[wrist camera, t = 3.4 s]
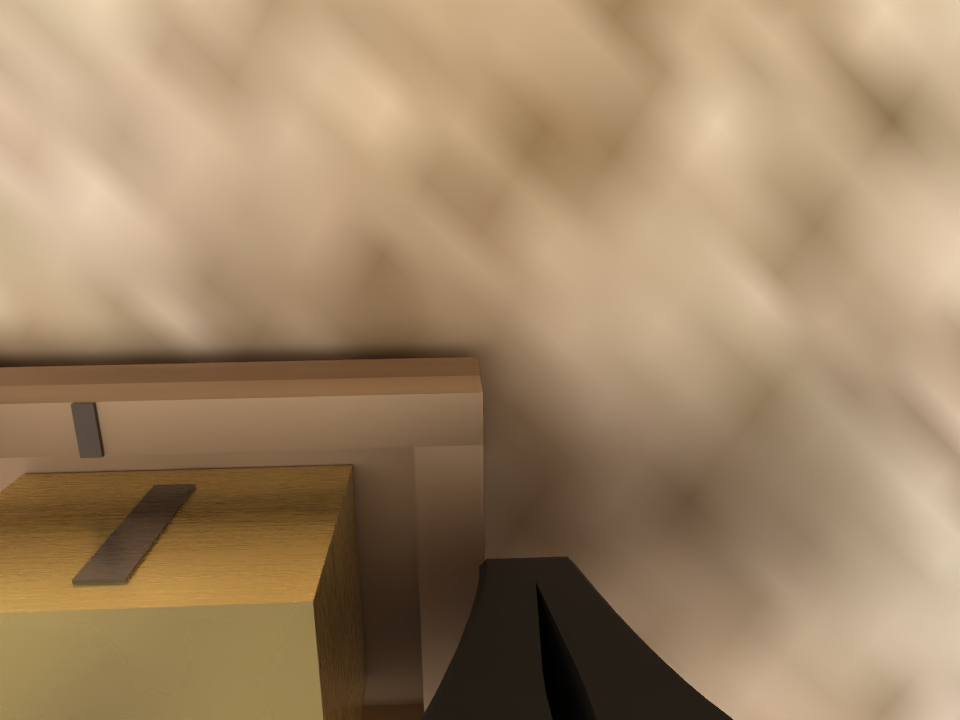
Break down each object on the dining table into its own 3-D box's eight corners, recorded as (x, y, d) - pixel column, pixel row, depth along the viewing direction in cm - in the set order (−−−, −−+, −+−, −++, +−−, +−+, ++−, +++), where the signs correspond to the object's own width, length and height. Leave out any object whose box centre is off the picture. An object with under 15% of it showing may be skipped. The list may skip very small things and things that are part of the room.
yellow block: (366, 681, 12) (337, 881, 9) (68, 694, 12) (-76, 903, 9) (352, 461, 11) (312, 597, 8) (22, 471, 11) (-166, 614, 8)
